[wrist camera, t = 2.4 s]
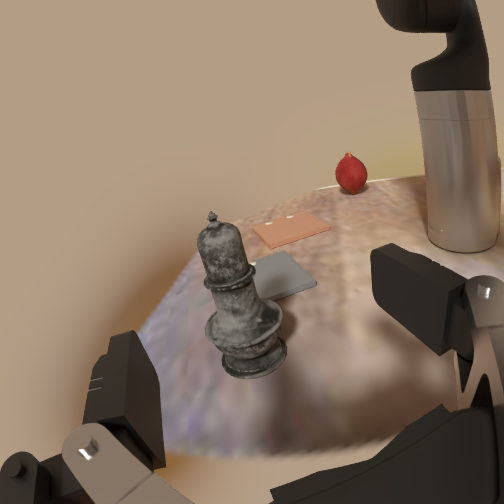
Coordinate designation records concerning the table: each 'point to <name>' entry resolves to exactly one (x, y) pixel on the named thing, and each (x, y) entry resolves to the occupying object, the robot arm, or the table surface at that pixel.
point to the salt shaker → (238, 306)
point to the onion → (351, 173)
